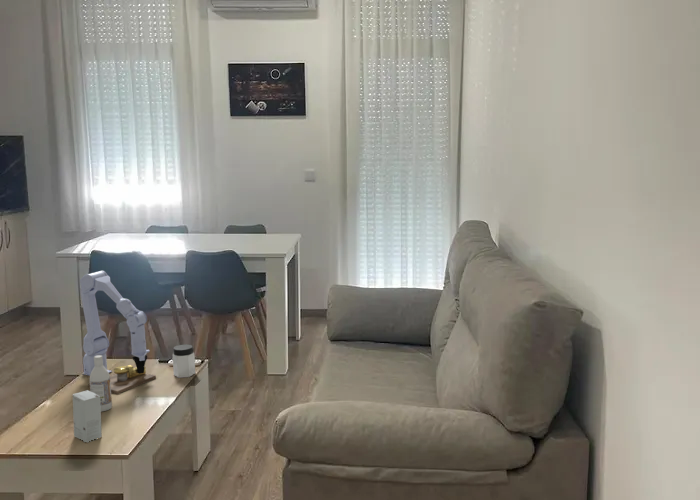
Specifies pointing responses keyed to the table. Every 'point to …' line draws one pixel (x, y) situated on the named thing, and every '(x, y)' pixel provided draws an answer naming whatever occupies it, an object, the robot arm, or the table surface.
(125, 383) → the base
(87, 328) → the robot arm
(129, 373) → the door handle
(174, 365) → the jar
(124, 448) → the table surface
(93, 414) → the skincare box
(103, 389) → the bath foam
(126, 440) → the table surface
